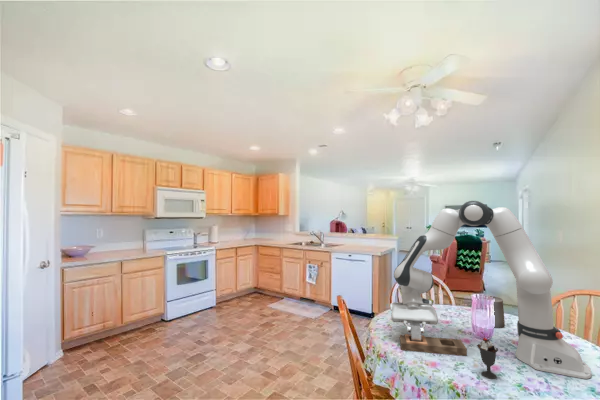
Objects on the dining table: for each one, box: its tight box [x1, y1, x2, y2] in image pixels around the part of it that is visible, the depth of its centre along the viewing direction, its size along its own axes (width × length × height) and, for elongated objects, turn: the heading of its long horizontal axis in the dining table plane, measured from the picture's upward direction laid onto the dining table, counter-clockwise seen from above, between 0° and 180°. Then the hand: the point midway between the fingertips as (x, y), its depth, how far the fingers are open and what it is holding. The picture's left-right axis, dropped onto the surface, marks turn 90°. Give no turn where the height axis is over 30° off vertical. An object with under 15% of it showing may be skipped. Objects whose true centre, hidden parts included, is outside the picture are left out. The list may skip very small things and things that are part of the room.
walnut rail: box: [399, 333, 468, 357], centre depth 128 cm, size 26×9×4 cm, turn 76°
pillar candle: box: [489, 295, 506, 329], centre depth 153 cm, size 10×10×15 cm
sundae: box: [476, 331, 499, 380], centre depth 107 cm, size 7×7×15 cm
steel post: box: [409, 323, 422, 342], centre depth 130 cm, size 4×4×10 cm
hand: (415, 332), depth 130 cm, fingers open, 4 cm apart
